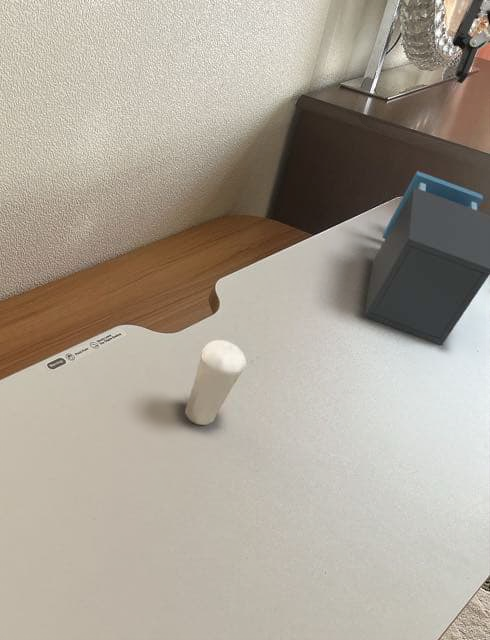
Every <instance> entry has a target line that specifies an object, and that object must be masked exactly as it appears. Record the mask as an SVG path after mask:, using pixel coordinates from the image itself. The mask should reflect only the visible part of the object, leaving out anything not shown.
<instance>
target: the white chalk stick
mask: <svg viewBox="0 0 490 640" xmlns="http://www.w3.org/2000/svg"><path fill="white" fill-rule="evenodd" d="M257 359H259V356H257V357H255V358H254V359H252V361H250V362H249V363H248V364H247V359H246V356H245V353H244V352H243V351H242V350H241V348H239V347H238V346H237V345H236V344H235V343H232V342H230V341H227V340H225V339H215V340H212V341H210V342H208V343H207V344H205V346H204V347H203V349H202V350H201V355H200V358H199V361H198V365H197V370H196V374H195V378H194V381H193V384H192V387H191V390H190V393H189V396H188V400H187V403H186V406H185V410H184V414H185V416H186V418H187V419H188V420H189V421H191V422H192V423H193V424H195V425H200V426H207V425H209V424H212V423H213V422H214V420H215V418H216V416H217V415H218V413H219V411H220V409H221V408H222V406H223V405H224V403H225V401H226V399H227V397H228V396H229V394H230V392H231V390H232V389H233V387H234V386H235V384H236V382H237V381H238V379H239V377H240V375H241V374H242V373H243V371H244V369H246V368H247V367H248V366H250V364H252V363H253V362H255V361H256V360H257Z"/></svg>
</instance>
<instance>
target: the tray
mask: <svg viewBox="0 0 490 640" xmlns="http://www.w3.org/2000/svg"><path fill="white" fill-rule="evenodd" d="M414 187H415V188H418V189H420V190H423V191H426V192H428V193H431V194H434V195H437V196H439V197H442V198H445V199H447V200H450V201H453V202H456V203H458V204H461V205H464V206H466V207H469V208H472V209H474V210H477V211H478V208H479V206H480V204H481V203H482V201H483V199H484V195H483V194H481V193H478V192H477V191H473V190H470V189H467V188H465V187H462V186H459V185H456V184H454V183H451V182H448V181H445V180H443V179H440V178H438V177H435V176H433V175H430V174H427V173H424V172H421V171H419V170H417V171H416V172H415V174H414V176H413V177H412V180H411V182H410V183H409V185H408V187H407V189H406V190H405V192H404V194H403V196H402V198H401V199H400V201H399V204H398V206H397V207H396V209H395V210H394V212H393V214H392V216H391V218H390V220H389V222H388V224H387V226H386V228H385V229H384V230H383V233H382V239H383V240H385V239H386V237H387V236H388V234H389V232H390V230H391V228H392V226H393V225H394V223H395V221H396V219H397V217H398V215H399V214H400V212H401V210H402V208H403V206H404V204H405V203H406V201H407V199H408V197H409V195H410V193H411V192H412V190H413V188H414Z"/></svg>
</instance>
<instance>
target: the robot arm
mask: <svg viewBox="0 0 490 640" xmlns="http://www.w3.org/2000/svg"><path fill="white" fill-rule="evenodd" d="M483 15H486V18H487V21H488V26H487V27H486V28H485V29H484V30H482V31H481V32H479V33H478V34H476V35H475V36H472V35H470V34H469V33H470V30H471V28H472V26H473V24H474V22H475V20H479V19H480V18H481V17H483ZM451 43H452V45H453V46H454V47H458V48H459V49H460V50H461V56H460V59H459V61H458V63H457V66H456V69H455V71H454V77H457V78H456V82H457V83H459V84H463V83H464V81H465V80H466V79H467V77H468V76H469V74H470V71H471V69H472V66H473V63H474V61H475V58H476V55H477V53H478V51H479V50H481V49H483V48H484V47H486V46H487V45H489V44H490V2H489V1H488V0H471V1H470V3H469V4H468V6H467V8H466V10H465V12H464V14H463V17H462V19H461V21H460V23H459V25H458V27H457V29H456V32H455V34H454V36H453V38H452V41H451Z"/></svg>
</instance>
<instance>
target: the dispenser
mask: <svg viewBox="0 0 490 640" xmlns="http://www.w3.org/2000/svg"><path fill="white" fill-rule="evenodd" d="M489 276H490V214H487V213H485V212H482V211H480V210H478V209H477V210H474V209H472V208H469V207H466V206H464V205H461V204H458V203H456V202H453V201H450V200H447V199H445V198H442V197H439V196H437V195H434V194H431V193H428V192H426V191H423V190H420V189H418V188H415V187H414V188H413V190H412V192H411V193H410V195H409V197H408V199H407V201H406V203H405V204H404V206H403V208H402V210H401V212H400V214H399V215H398V217H397V219H396V221H395V223H394V225H393V226H392V228H391V230H390V232H389V234H388V236H387V237H386V239H384V242H383V243H382V245H381V246H380V248H379V250H378V252H377V254H376V255H375V258H374V259H373V261H372V263H371V270H370V278H369V284H368V290H367V296H366V297H367V298H366V304H365V311H364V318H367V319H369V320H372V321H374V322H378V323H381V324H383V325H386V326H389V327H390V328H391V327H392V328H393V329H396V330H400V331H402V332H405V333H408V334H410V335H413V336H414V337H418V338H420V339H424V340H426V341H429V342H431V343H434V344H437V345H439V346H443V345H444V343H445V341H446V340H447V339H448V337H449V336H450V334H451V333H452V331H453V330H454V329H455V326H456V325H457V324H458V323H459V321H460V319H461V318H462V317H463V315H464V313H465V312H466V310H467V309H468V307H470V304H471V303H472V302H473V300H474V298H475V297H476V296H477V294H478V293H479V291H480V290H481V288H482V286H483V285H484V284H485V282H486V281H487V280H488V279H489Z"/></svg>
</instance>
